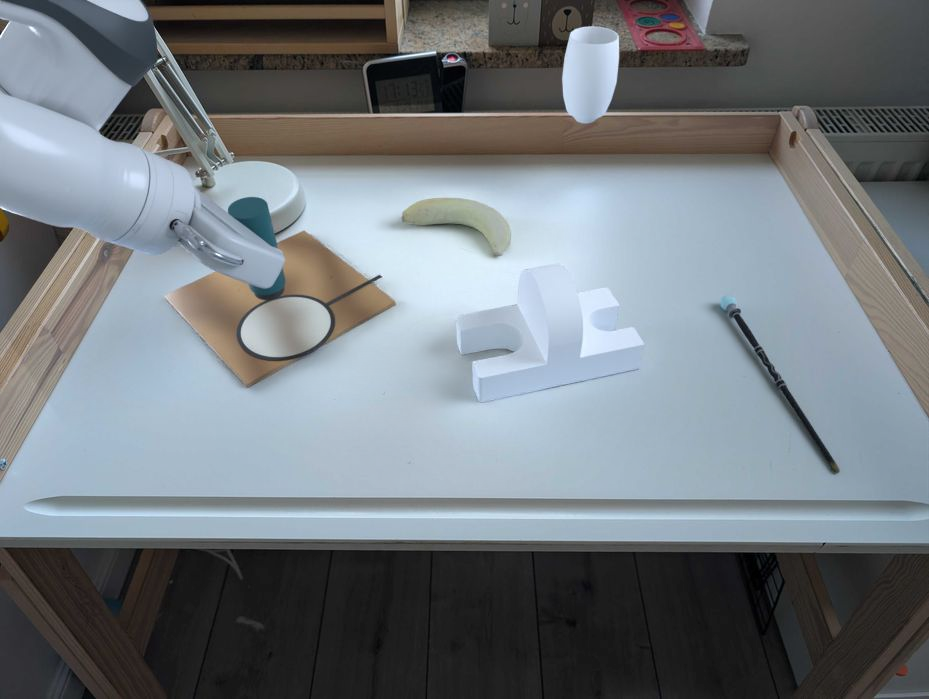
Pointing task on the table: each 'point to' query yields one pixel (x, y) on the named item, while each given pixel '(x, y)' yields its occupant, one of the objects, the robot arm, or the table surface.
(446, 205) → the fruit
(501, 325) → the block with arch cutout
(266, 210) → the teal cylinder
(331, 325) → the brown flat square board
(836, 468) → the magic staff
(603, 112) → the cup
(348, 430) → the table surface
